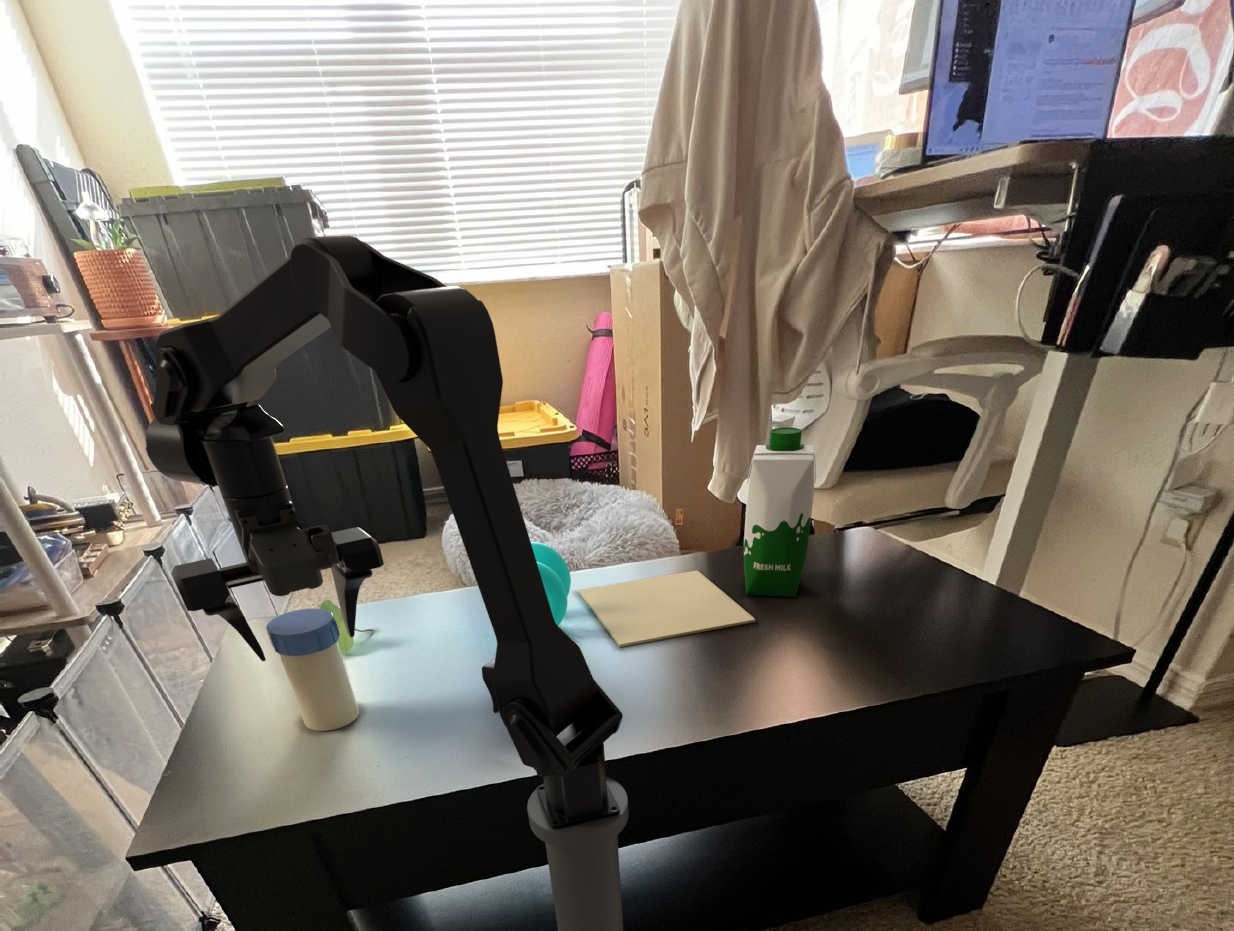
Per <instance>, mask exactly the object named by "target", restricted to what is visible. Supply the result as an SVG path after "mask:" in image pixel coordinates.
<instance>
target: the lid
mask: <svg viewBox="0 0 1234 931" xmlns="http://www.w3.org/2000/svg"><path fill="white" fill-rule="evenodd" d="M265 629H266V632H267V636H268V639H269V642H270V643H271V646H272V648H273V650H274V652H275V653H277V654H278V655H279V654H281V655H285V656H302V655H308V654H313V653H316V652H320V651H322V650H325V649H327V648H329V647H331V646H332V645H334V644H335V643H336V642H337V641H338V640H339V635H340V633H339V630H338V627H337V623H336V621H335V619H334V616H333V614H332V613H331V612H330V611H328V610H324V609H320V608H303V609H297V610H292V611H289V612H286V613H283V614H280V615H278V616H275V617H274V618H272V619H271V620H270V621H268V623H267V624H266V627H265Z"/></svg>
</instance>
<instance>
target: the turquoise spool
mask: <svg viewBox="0 0 1234 931" xmlns="http://www.w3.org/2000/svg"><path fill="white" fill-rule="evenodd" d="M530 542H531V545H532V548H533V552H534V555H535V558H536V562H537V565H538V568H539V572H540V575H541V578H542V581H543V585H544V588H545V591H546V595H547V598H548V601H549V605H550V608H551V611H552V615H553V618H554V620H555V622H556V624H557V625H558V626H559V625H561V623H562V622H563V620H564V618H565V616H566V613H567V609H568V597H569V594H570V590H571V585H572V578H571V572H570V569H569V566H568V564H567V562H566V560H565V558H563V556H562V555H561V554H560V553H559V552H558V551H557V550H556V549H554V548H553V547H551V546H550V545H547V544H545V543H542V542H537V541H530ZM559 627H560V626H559Z"/></svg>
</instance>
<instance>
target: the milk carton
mask: <svg viewBox="0 0 1234 931" xmlns="http://www.w3.org/2000/svg"><path fill="white" fill-rule="evenodd" d="M802 432H803V431H802V429H801V428H798V427H789V426H788V427H784V426H783V427H776V428H773V429H771V430H770V432H769V443H767V444H765V445H763V444H757V445H756V446H755V450H754V451H753V455H752V457H751V462H750V466H749V470H748V474H747V475H748V476H747V482H746V483H747V484H748V486H747V491H746V492H747V493H746V503H745V504H746V506H745V520H744V521H745V522H744V536H743V568H744V582H745V596H755V597H756V596H757V597H758V596H761V597H783V598H786V597H787V598H789V597H790V598H796V597H797V593H798V589H799V585H800V582H801V578H802V574H803V570H804V567H805V563H806V559H807V554H808V548H809V547H808V546H809V540H810V539H809V538H810V533H811V532H810V531H811V522H812V514H813V505H814V497H815V482H817V481H816V479H817V478H816V477H817V464H816V462H817V461H816V452H815V445H814V444H805V443H804V444H803V443H802V434H803V433H802ZM801 443H802V444H801Z"/></svg>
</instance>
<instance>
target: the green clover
mask: <svg viewBox="0 0 1234 931" xmlns="http://www.w3.org/2000/svg"><path fill="white" fill-rule="evenodd" d="M319 609H324V610H328V611H330V612H331V613H332V614H333V616H334V619H335V621H336V623H337V627H338V630H339V633H340V635H339V640H338V641H337V642H338V645H339V648H340V651H341V654H342V656H344V655H347V654H348V653H349V652H351V651H352V650H353V647H354V642H355V640H354V639H355V638H354V637H350V636H349V635H348V633H347V630H346V627H345V624H344V621H343V618H342V613H341V609H340V606H338V605H336V604H335V603H334V602H332V601H331V600H330V599H326V600H325V599H324V600H323V601H322V602H321V603H320V606H319ZM355 632H359V633H365V632H374V629H371V628H368V629H364V630H363V629H357V628H355Z"/></svg>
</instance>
